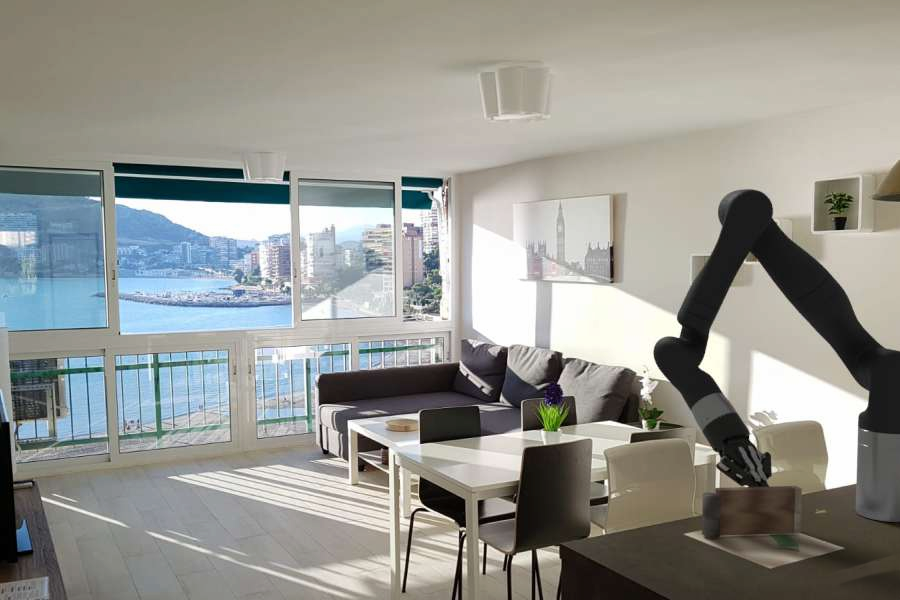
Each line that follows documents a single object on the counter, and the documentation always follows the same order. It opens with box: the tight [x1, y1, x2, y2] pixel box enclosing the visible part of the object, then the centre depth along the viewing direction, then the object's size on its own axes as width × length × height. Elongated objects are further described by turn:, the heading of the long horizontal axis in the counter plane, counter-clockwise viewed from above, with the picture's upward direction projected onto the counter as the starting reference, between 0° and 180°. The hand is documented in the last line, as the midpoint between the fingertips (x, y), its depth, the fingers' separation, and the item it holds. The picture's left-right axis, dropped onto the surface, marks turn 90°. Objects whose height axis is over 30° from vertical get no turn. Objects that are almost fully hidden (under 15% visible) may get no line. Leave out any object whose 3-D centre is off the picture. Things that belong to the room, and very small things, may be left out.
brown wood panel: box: [701, 485, 803, 537], centre depth 135 cm, size 18×3×8 cm, turn 97°
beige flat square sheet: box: [683, 529, 845, 569], centre depth 133 cm, size 19×18×2 cm
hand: (770, 503), depth 137 cm, fingers closed
